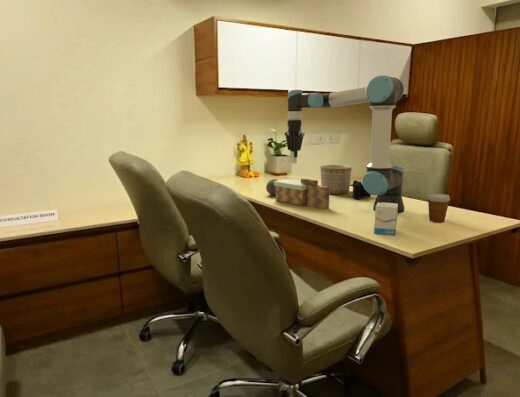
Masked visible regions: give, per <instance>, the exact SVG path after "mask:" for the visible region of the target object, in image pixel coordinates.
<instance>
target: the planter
mask: <svg viewBox="0 0 520 397" xmlns="http://www.w3.org/2000/svg"><path fill="white" fill-rule="evenodd" d="M319 169H320V186H326V187H329V195H331V196H332V195H334V196H335V195H336V196H342V195H347V194H348V193H349V192H350V187H351V186H350V185H351V177H352V169H353V167H352V165H346V164H326V165H321V166H320V168H319Z"/></svg>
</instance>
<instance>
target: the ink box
mask: <svg viewBox="0 0 520 397" xmlns="http://www.w3.org/2000/svg"><path fill="white" fill-rule="evenodd" d="M374 212H375V214H374V226H373V229H374V230H373V234H375V235H385V236H396V234H397V224H398V223H397V222H398V214H397V212H398V204H396V203H379V202H378V203H377V205H376V209H375V211H374Z"/></svg>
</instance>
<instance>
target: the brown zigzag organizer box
mask: <svg viewBox="0 0 520 397" xmlns="http://www.w3.org/2000/svg"><path fill="white" fill-rule="evenodd" d="M275 202H280V203H284V204H289V205H293V206H298V207H305V206H307V207H309V208H310V207H311V208H315V209H320V210H329V209H330V194H329V187H326V186H321V185H320V184H318V185H307V189H306V190H297V189H291V188H285V187H280V186H276V196H275Z"/></svg>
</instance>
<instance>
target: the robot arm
mask: <svg viewBox="0 0 520 397" xmlns="http://www.w3.org/2000/svg"><path fill="white" fill-rule="evenodd" d="M404 91H405V87H404V84H403V82H402V81H401V80H400V79H399V78H397V77H394V76H393V77H392V76H389V75H377V76H374V77H373V78H372V79H370V80H369V82H368V83H367V85H366V86H365V87H358V88H352V89H347V90H341V91H335V92H334V91H332V92H329V93H320V92H310V93H309V92H308V93H303V91H302V90H301V89H289V90H288V93H287V119H288V120H287V127H288V129H287V131H286V132H284V136H285V140H286V146H287V150H288V151H290V157H291V159H290V162H291V164H297V163H298V162H297V161H298V159H297V158H298V152H300V151H301V150H302V144H303V140H304V136H305V132H302V129H301V128H302V125H303V124H302V117H303V116H302V115H303V114H302V113H303V111H302V110H303V109H330V108H336V107H342V106H344V107H345V106H350V105H351V106H352V105H359V104H364V103H368V104H369V106H368V108H370V110H371V111H372V115H371V116H372V117H371V137H370V138H371V139H370V140H371V141H370V142H371V143H370V161H369V163H368V164H367V165H366V173H365V174H364V175H363V178H362V181H361V183H362V186H363V187H364V189H365V190H366V191H367V192H368V193H369V194H371V195H372V196H376V198H375V200H374V202H373V206H372V209H373V211H374V212H375V209H376V205H377V203H378V202H379V203H396V204H398V212H397V215H398V214H403V213H404V212H405V203H404V199H403V197H402V196H403V181H404V168H403V166H401V165H392V164H391V163H390V156H391V155H390V154H391V141H392V140H391V138H392V136H391V135H392V118H393V117H392V116H393V110H394V109H395V108H396V107H397V106H396V105H397V102H398V101H400V100H401V98H402V97H403V95H404Z"/></svg>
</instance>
